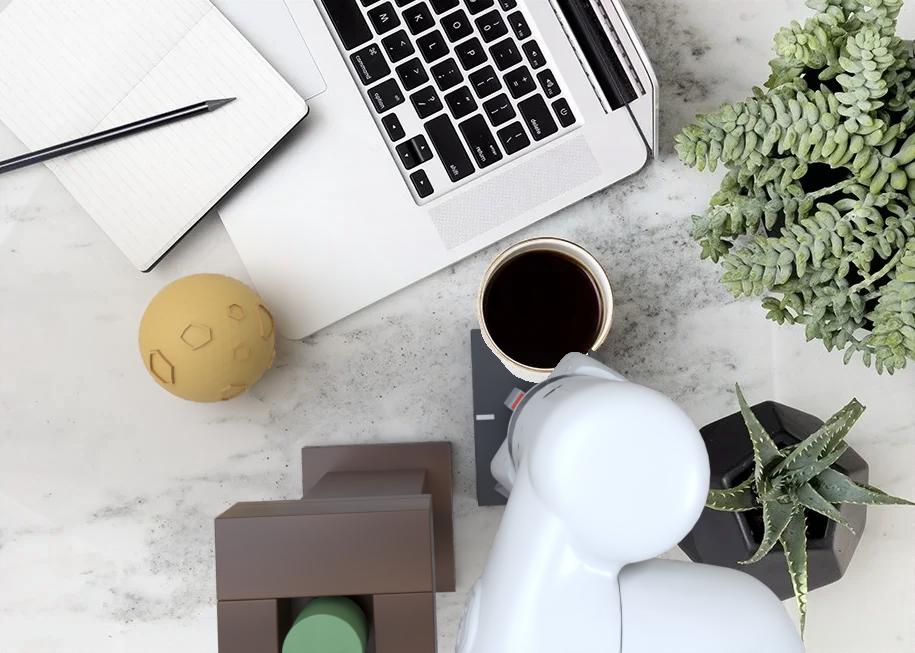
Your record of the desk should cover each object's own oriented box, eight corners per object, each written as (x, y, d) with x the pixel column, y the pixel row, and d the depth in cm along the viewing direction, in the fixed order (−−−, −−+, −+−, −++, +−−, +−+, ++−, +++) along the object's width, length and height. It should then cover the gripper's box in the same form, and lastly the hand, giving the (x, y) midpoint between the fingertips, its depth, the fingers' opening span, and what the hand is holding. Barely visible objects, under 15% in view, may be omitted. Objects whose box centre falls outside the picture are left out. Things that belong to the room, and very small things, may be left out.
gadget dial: (571, 426, 62) (582, 432, 57) (560, 443, 62) (569, 450, 57) (514, 386, 62) (520, 389, 57) (503, 403, 62) (508, 407, 57)
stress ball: (144, 361, 64) (88, 363, 54) (204, 257, 64) (160, 240, 54) (249, 421, 64) (213, 434, 54) (309, 317, 64) (284, 310, 54)
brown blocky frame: (440, 730, 40) (440, 772, 36) (244, 739, 40) (221, 782, 36) (432, 493, 40) (430, 509, 36) (237, 501, 40) (213, 518, 36)
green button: (370, 668, 38) (364, 694, 35) (295, 671, 38) (282, 698, 35) (368, 592, 38) (361, 612, 35) (293, 595, 38) (280, 616, 35)
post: (455, 587, 64) (460, 729, 40) (308, 594, 64) (224, 740, 40) (450, 440, 64) (451, 492, 40) (303, 446, 64) (217, 502, 40)
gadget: (598, 495, 64) (604, 501, 62) (476, 500, 64) (478, 506, 61) (590, 325, 65) (596, 324, 62) (470, 330, 65) (471, 329, 62)
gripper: (552, 600, 43) (520, 525, 61) (712, 363, 43) (633, 360, 62) (439, 521, 43) (442, 470, 61) (601, 286, 43) (555, 306, 62)
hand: (538, 415), depth 61 cm, fingers closed on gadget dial
